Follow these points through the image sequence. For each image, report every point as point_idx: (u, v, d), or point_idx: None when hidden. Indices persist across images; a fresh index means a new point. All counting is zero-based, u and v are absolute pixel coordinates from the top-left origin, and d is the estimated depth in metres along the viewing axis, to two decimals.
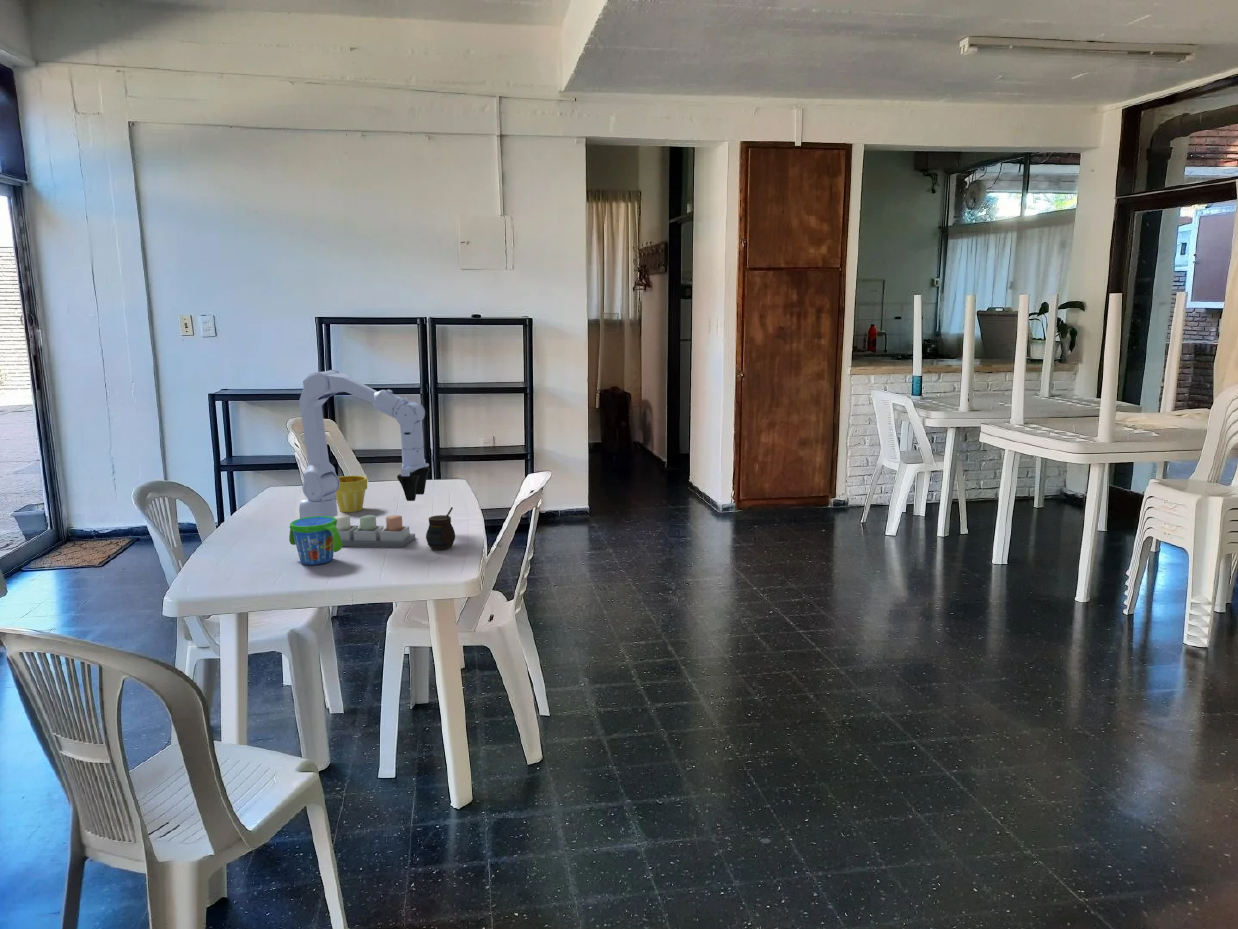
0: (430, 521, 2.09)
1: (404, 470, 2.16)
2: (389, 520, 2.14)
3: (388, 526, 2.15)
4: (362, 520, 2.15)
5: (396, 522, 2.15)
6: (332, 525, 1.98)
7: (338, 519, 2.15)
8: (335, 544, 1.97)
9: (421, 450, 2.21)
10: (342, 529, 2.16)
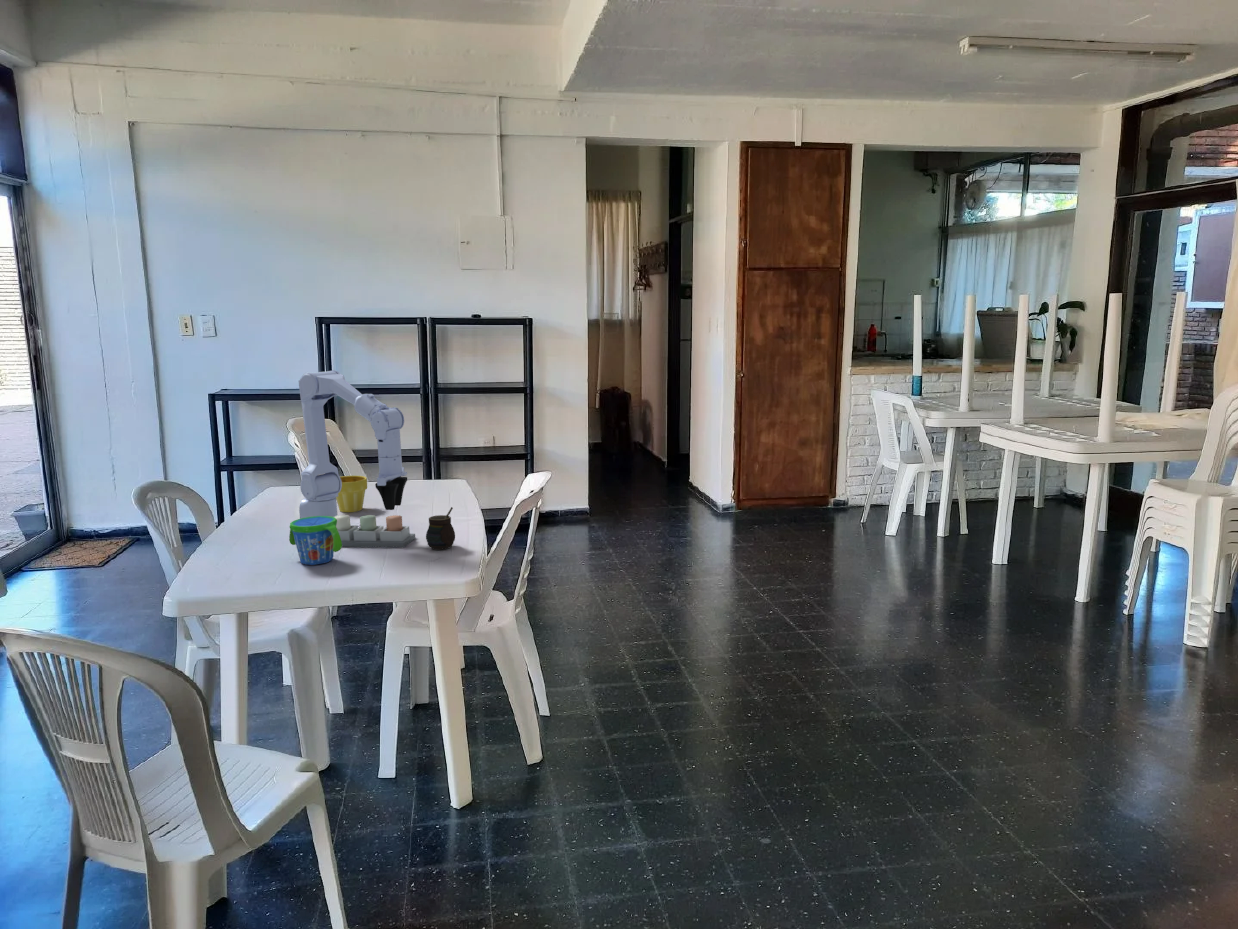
0: (430, 521, 2.09)
1: (380, 479, 2.07)
2: (389, 520, 2.14)
3: (388, 526, 2.15)
4: (362, 520, 2.15)
5: (396, 522, 2.15)
6: (332, 525, 1.98)
7: (338, 519, 2.15)
8: (335, 544, 1.97)
9: (399, 458, 2.12)
10: (342, 529, 2.16)
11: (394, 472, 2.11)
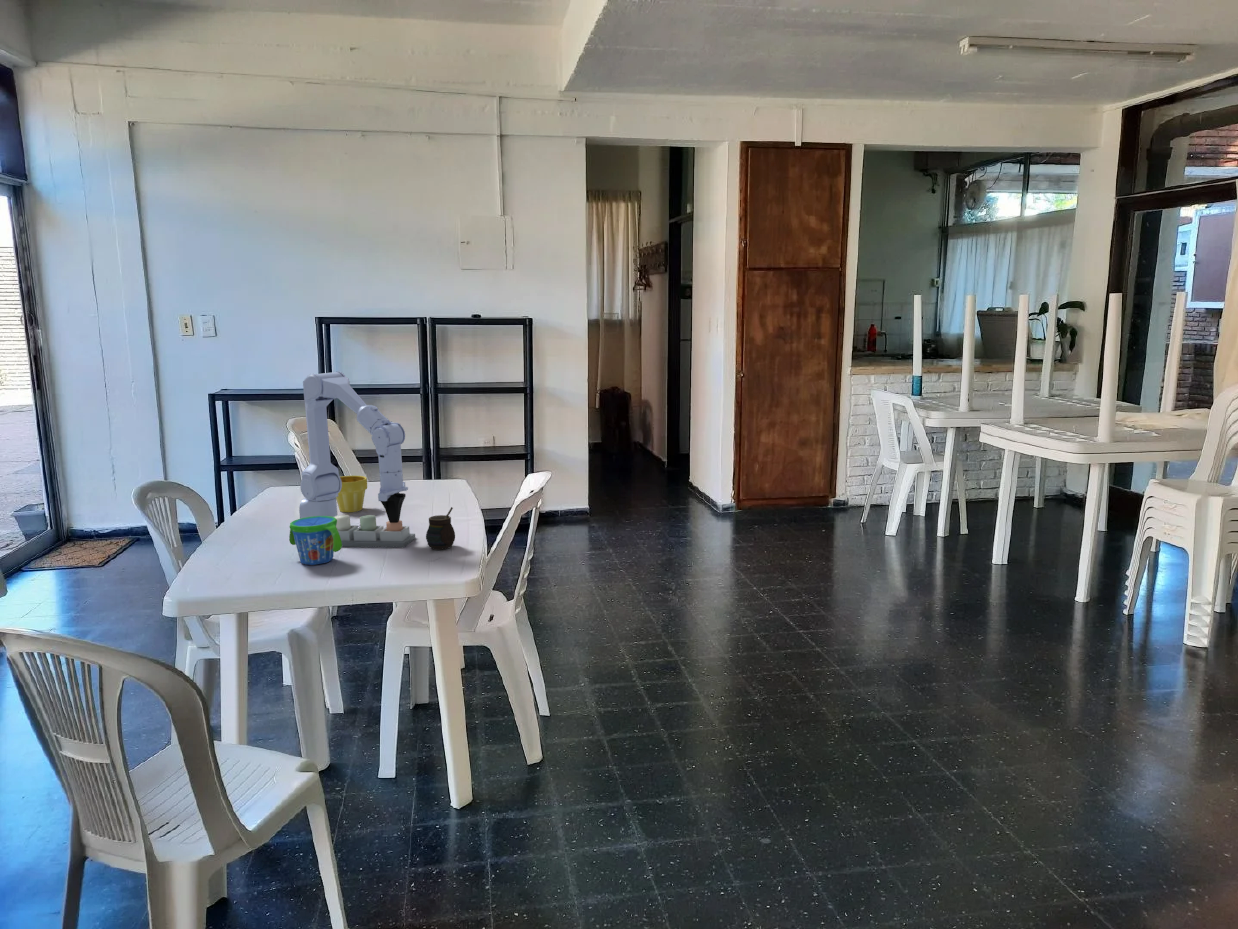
0: (430, 521, 2.09)
1: (381, 495, 2.08)
2: (390, 525, 2.14)
3: None
4: (362, 520, 2.15)
5: (396, 527, 2.15)
6: (332, 525, 1.98)
7: (338, 519, 2.15)
8: (335, 544, 1.97)
9: (400, 473, 2.13)
10: (342, 529, 2.16)
11: (395, 487, 2.12)
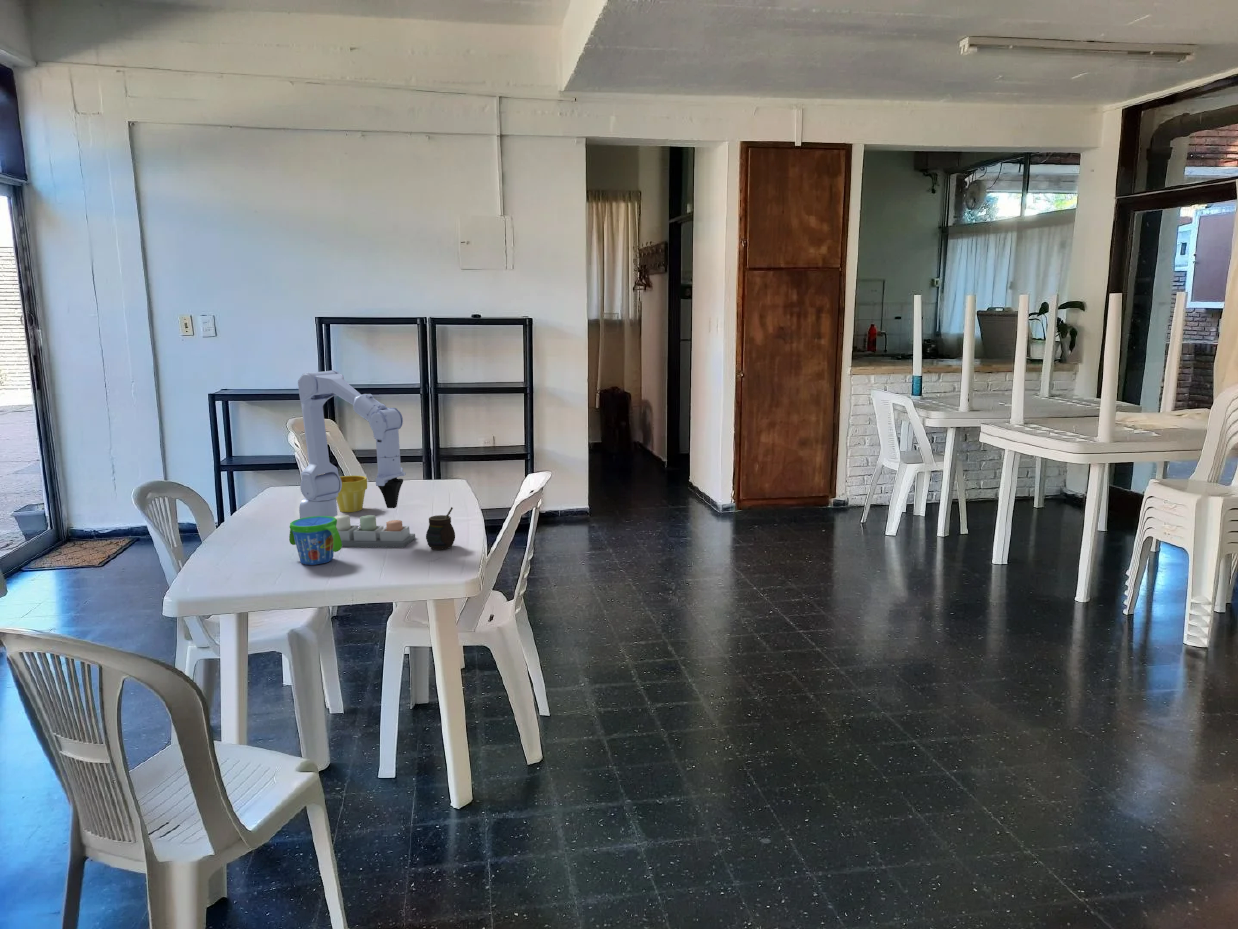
0: (430, 521, 2.09)
1: (379, 480, 2.07)
2: (390, 525, 2.14)
3: None
4: (362, 520, 2.15)
5: (396, 527, 2.15)
6: (332, 525, 1.98)
7: (338, 519, 2.15)
8: (335, 544, 1.97)
9: (397, 458, 2.12)
10: (342, 529, 2.16)
11: (393, 472, 2.12)
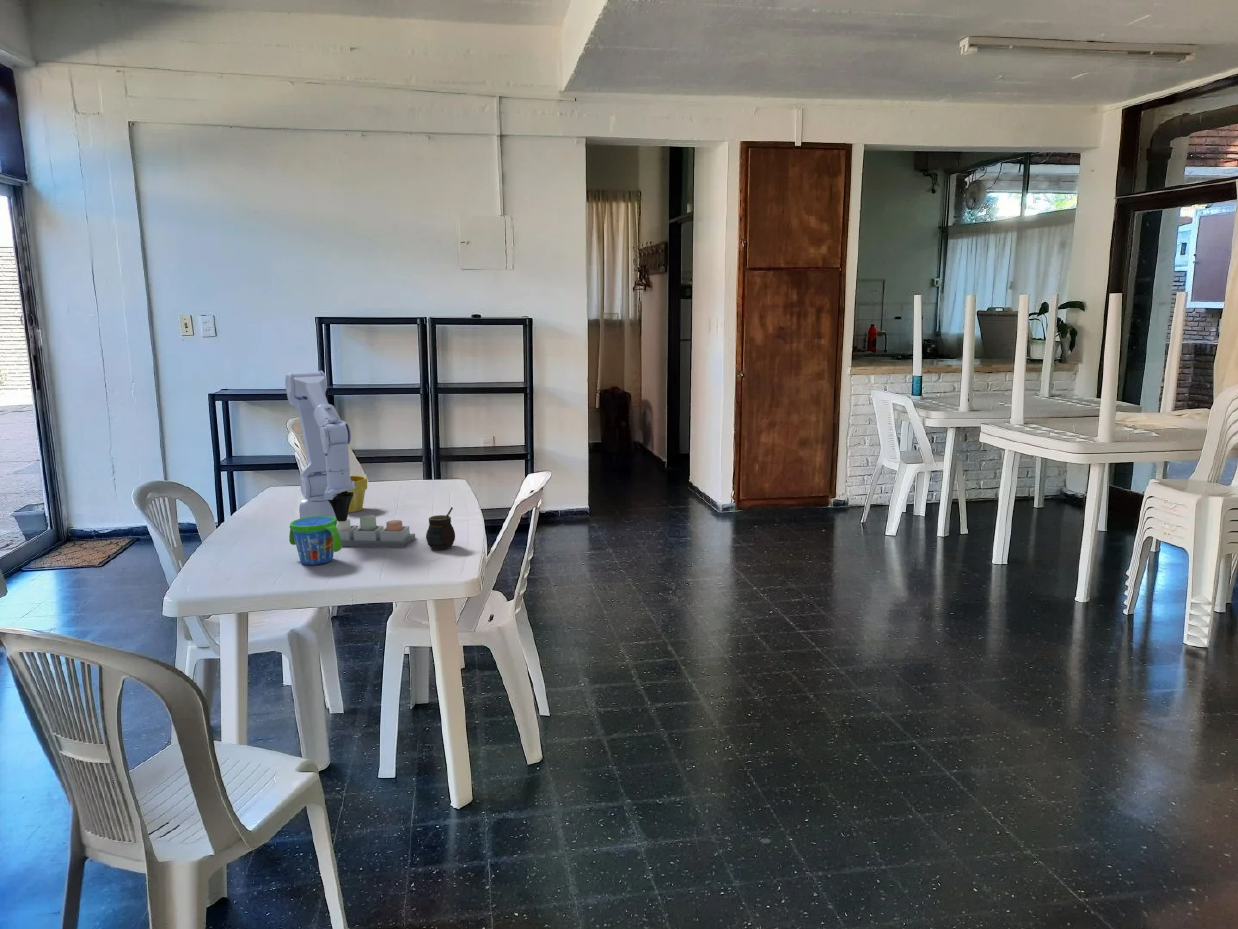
0: (430, 521, 2.09)
1: (327, 493, 2.09)
2: (390, 525, 2.14)
3: None
4: (362, 520, 2.15)
5: (396, 527, 2.15)
6: (332, 525, 1.98)
7: (338, 523, 2.16)
8: (335, 544, 1.97)
9: (346, 472, 2.14)
10: None
11: (342, 486, 2.13)
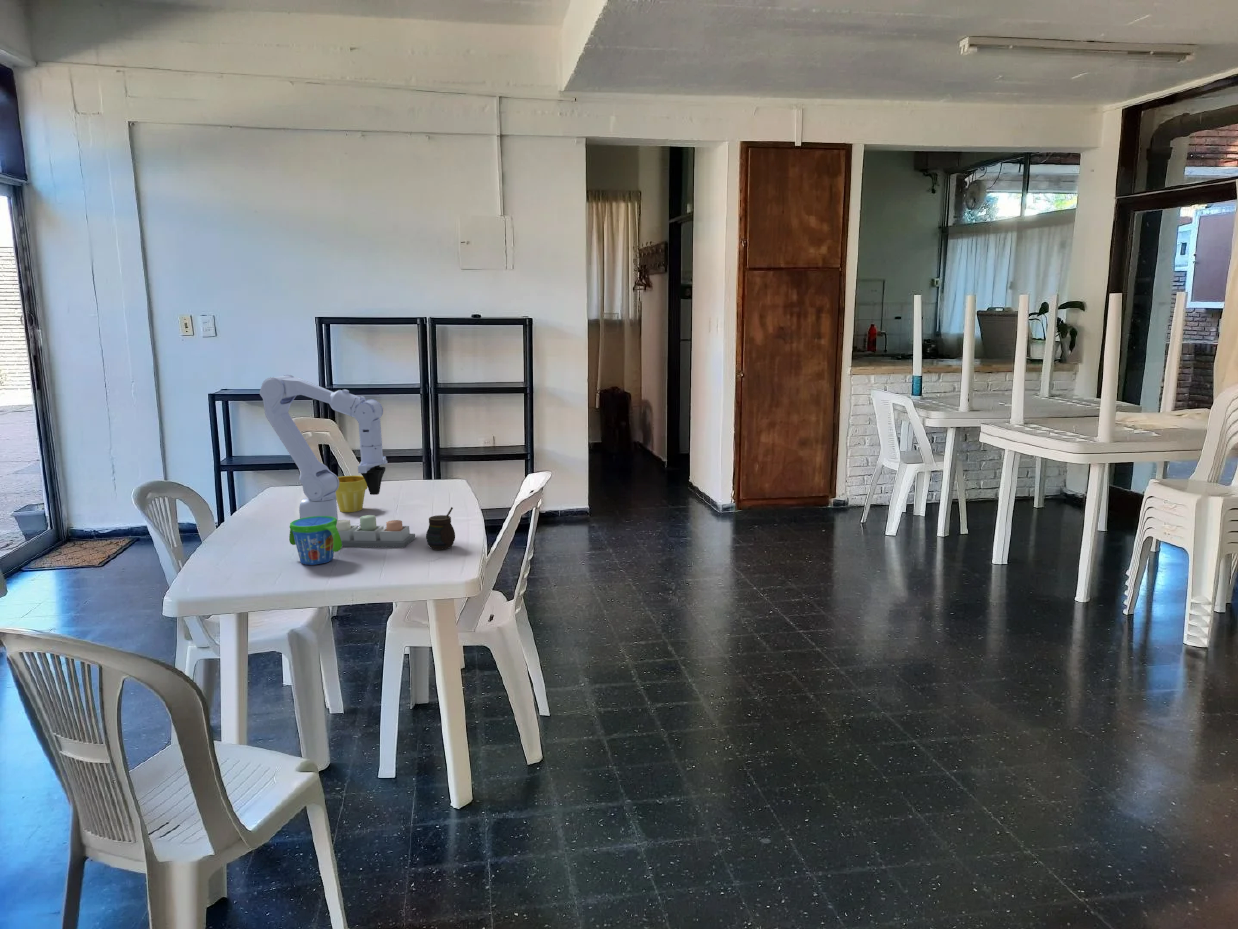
0: (430, 521, 2.09)
1: (361, 467, 2.19)
2: (390, 525, 2.14)
3: None
4: (362, 520, 2.15)
5: (396, 527, 2.15)
6: (332, 525, 1.98)
7: (338, 524, 2.16)
8: (335, 544, 1.97)
9: (379, 447, 2.24)
10: None
11: (375, 460, 2.23)
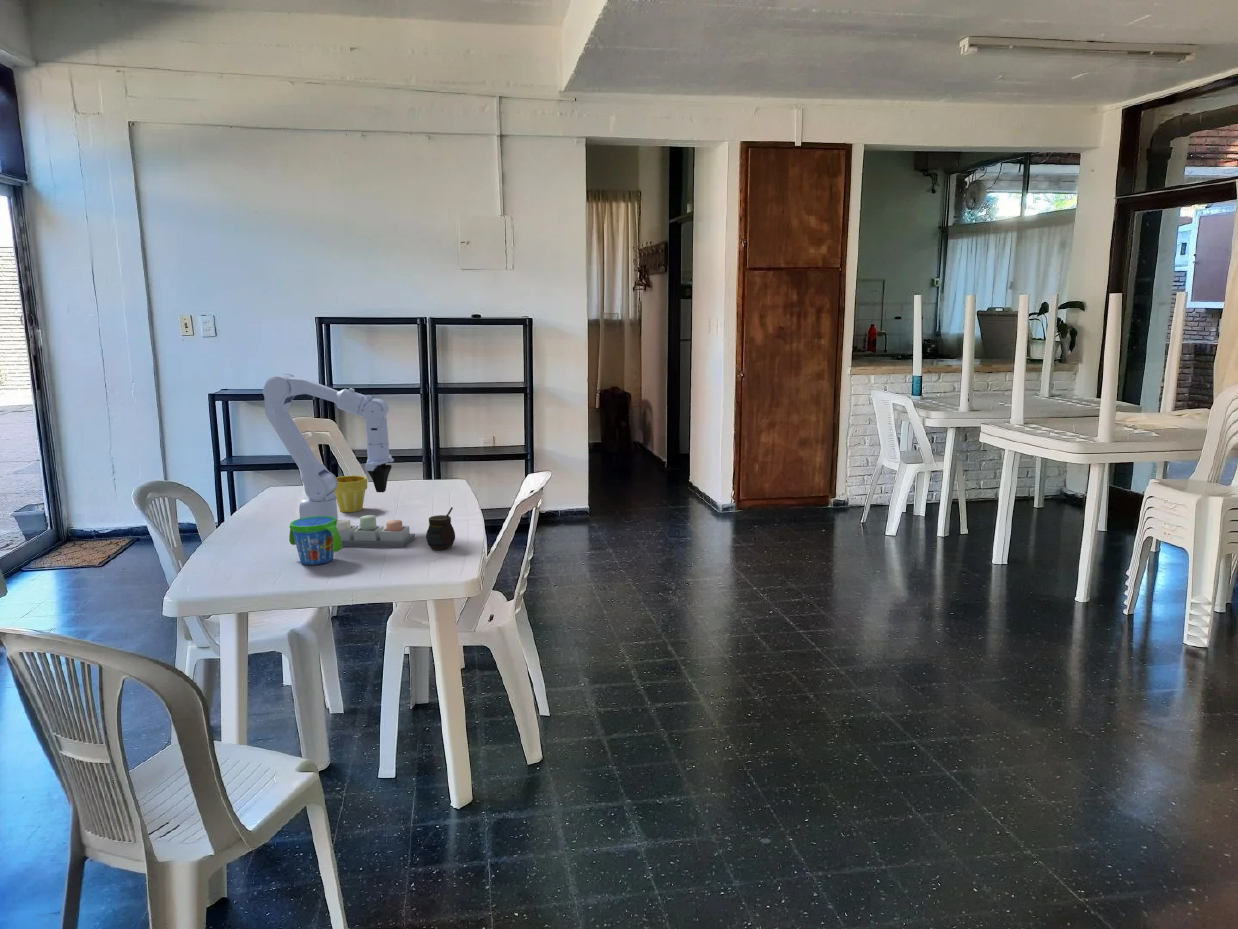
0: (430, 521, 2.09)
1: (368, 465, 2.21)
2: (390, 525, 2.14)
3: None
4: (362, 520, 2.15)
5: (396, 527, 2.15)
6: (332, 525, 1.98)
7: (338, 524, 2.16)
8: (335, 544, 1.97)
9: (386, 445, 2.26)
10: None
11: (381, 458, 2.26)
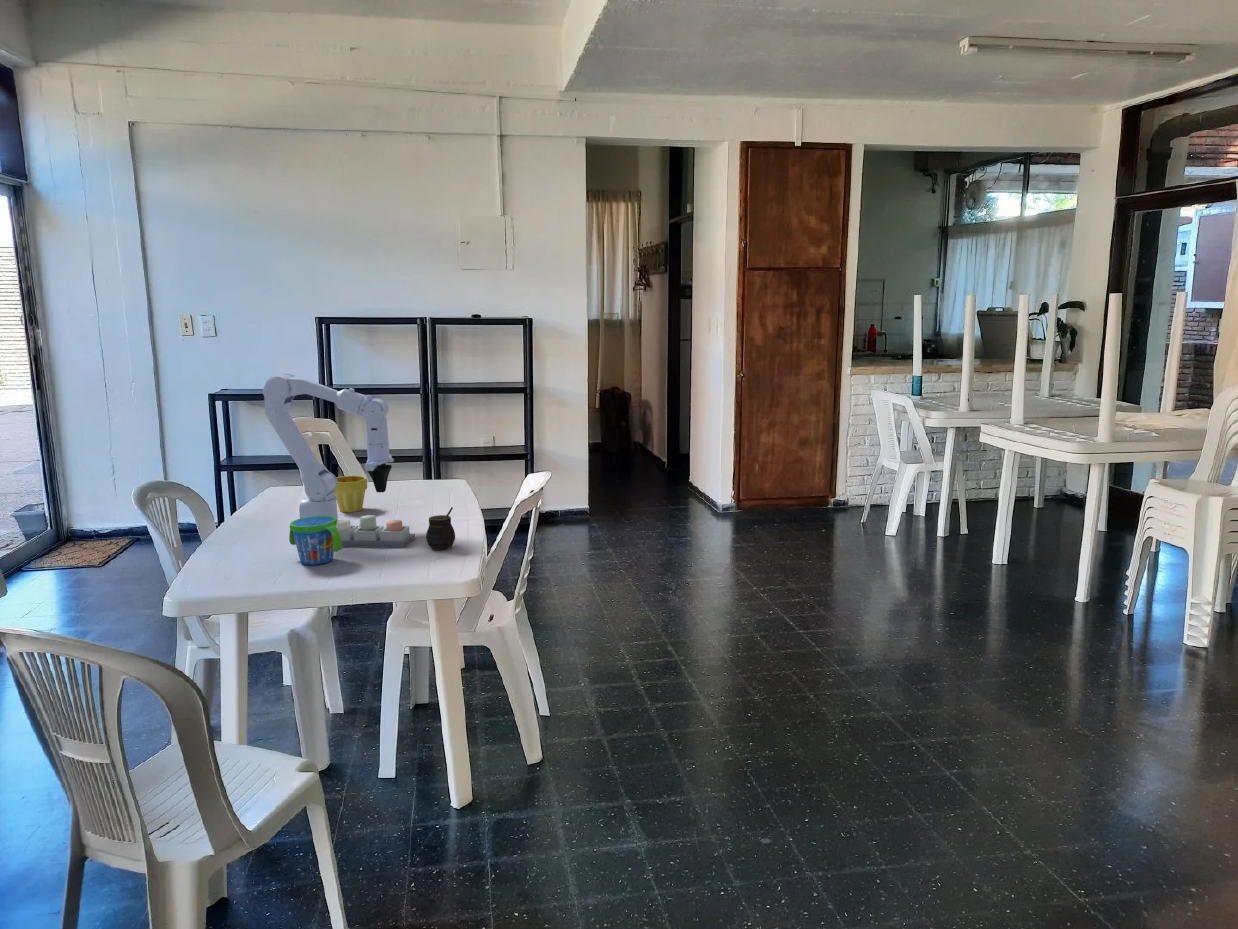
0: (430, 521, 2.09)
1: (368, 465, 2.21)
2: (390, 525, 2.14)
3: None
4: (362, 520, 2.15)
5: (396, 527, 2.15)
6: (332, 525, 1.98)
7: (338, 524, 2.16)
8: (335, 544, 1.97)
9: (386, 445, 2.26)
10: None
11: (381, 458, 2.26)
